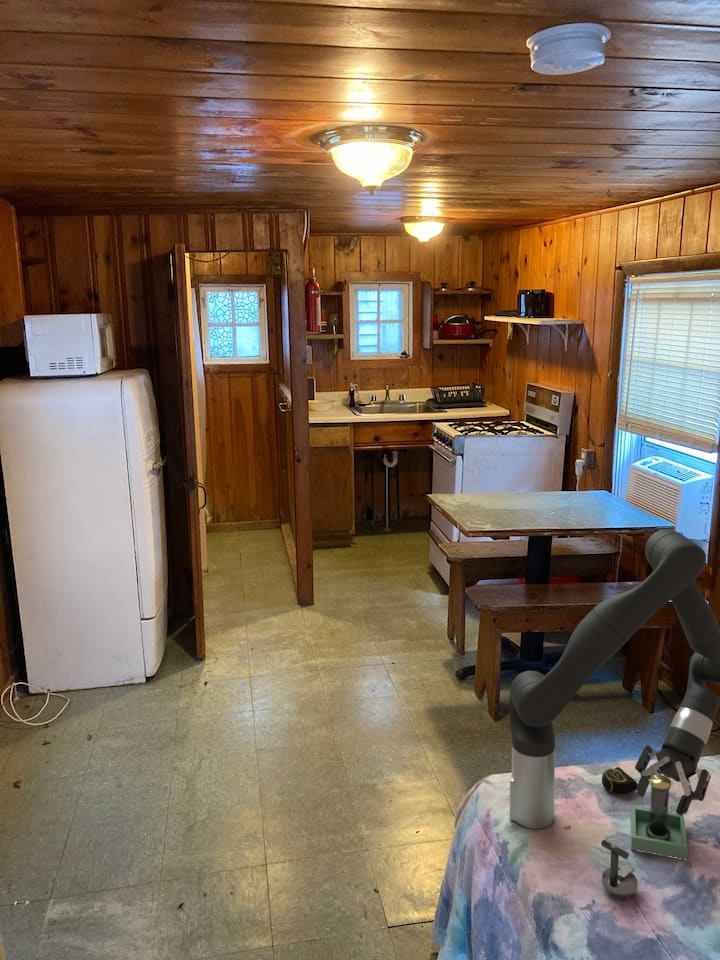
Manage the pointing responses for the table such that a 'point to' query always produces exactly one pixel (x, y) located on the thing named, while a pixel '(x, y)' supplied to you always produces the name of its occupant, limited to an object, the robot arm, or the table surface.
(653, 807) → the pin
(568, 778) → the table surface
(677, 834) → the tray
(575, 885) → the table surface
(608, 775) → the tape measure
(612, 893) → the t-handle
